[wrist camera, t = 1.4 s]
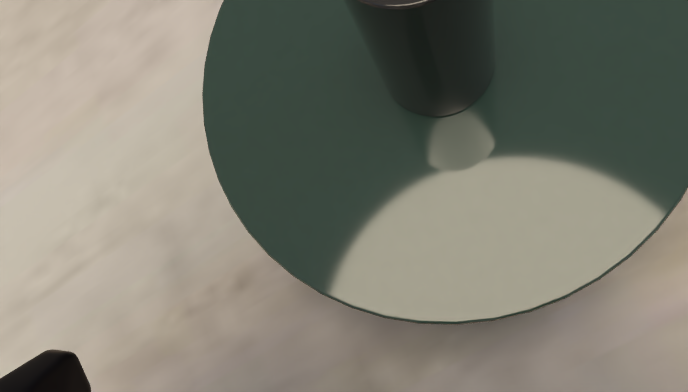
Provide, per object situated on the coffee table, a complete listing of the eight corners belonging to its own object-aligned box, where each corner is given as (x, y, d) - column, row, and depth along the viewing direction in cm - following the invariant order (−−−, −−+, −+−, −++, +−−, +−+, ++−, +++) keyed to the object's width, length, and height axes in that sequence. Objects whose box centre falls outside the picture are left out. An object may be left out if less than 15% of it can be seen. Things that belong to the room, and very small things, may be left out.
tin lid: (750, 313, 15) (946, 298, 8) (217, 334, 18) (45, 335, 12) (668, -177, 18) (766, -482, 11) (220, -88, 21) (85, -288, 14)
